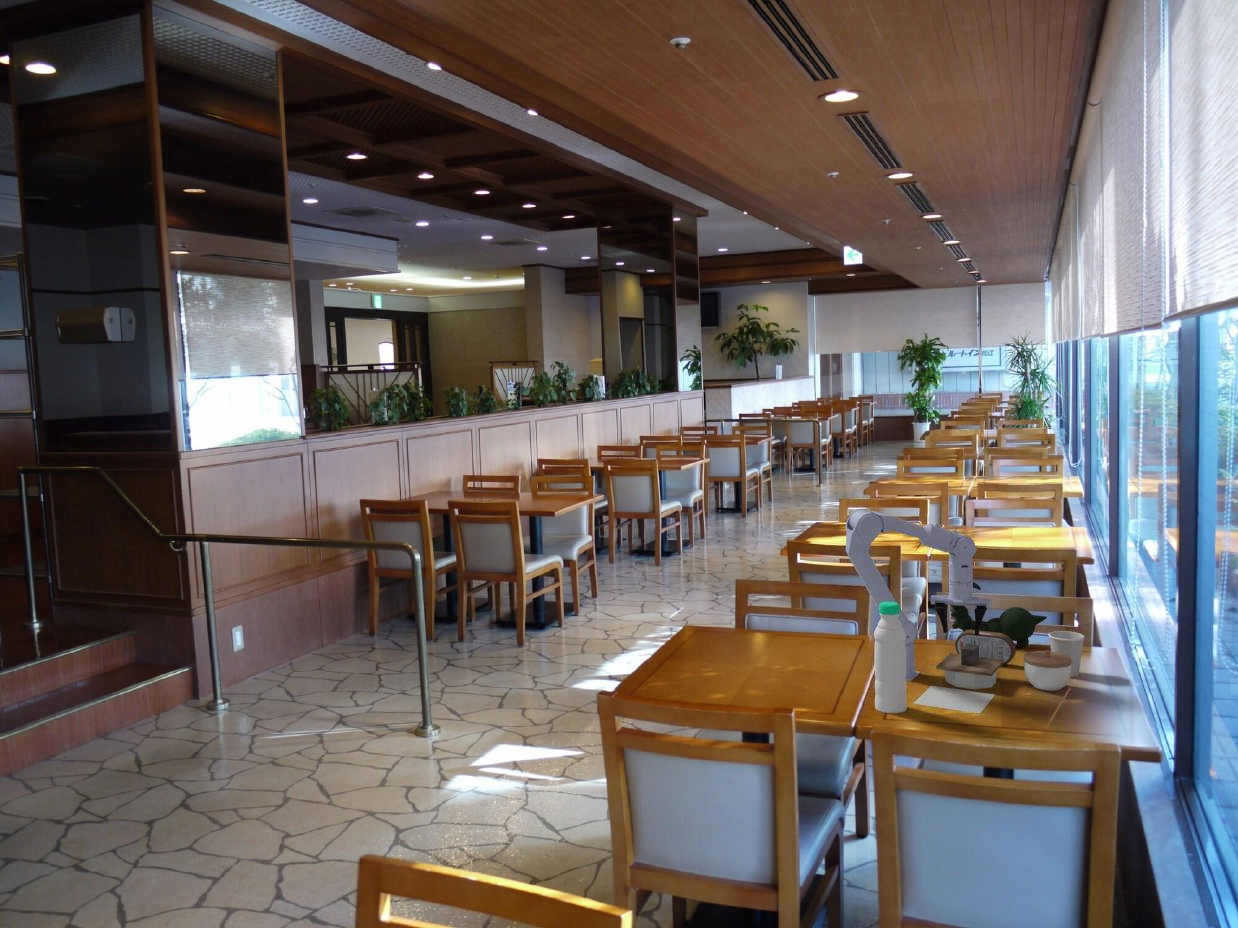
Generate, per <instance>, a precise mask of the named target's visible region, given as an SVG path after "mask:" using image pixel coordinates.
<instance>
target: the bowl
mask: <svg viewBox="0 0 1238 928" xmlns="http://www.w3.org/2000/svg"><path fill="white" fill-rule="evenodd" d="M944 671H945V682H947V683H948V684H949V685H952V686H954V687H956V688H962V689H971V690H979V689H989V688H992V687H994V685H995V684H996V683H997V671H996V672H995V673H994V674H993V675H992V676H985V675H977V674H970V673H962V672H954V671H946V670H944Z"/></svg>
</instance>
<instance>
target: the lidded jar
mask: <svg viewBox="0 0 1238 928" xmlns="http://www.w3.org/2000/svg"><path fill="white" fill-rule="evenodd" d="M1071 664H1072V659H1071V657H1069V656H1067V655H1065V654H1061V653H1057V652H1051V649H1045V650H1036V651H1029V652H1026V653H1024V654H1023V668H1024V673H1025V678H1026V680H1027V681H1028V682H1029V683H1030V684H1031V685H1032V687H1034V688H1035V689H1037V690H1042V691H1047V692H1054V691H1055V692H1056V691H1060V690H1061V689H1063V688H1064V687H1066V685H1067V684H1068V683H1069V681H1070V679H1071V677H1070V675H1071Z"/></svg>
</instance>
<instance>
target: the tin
mask: <svg viewBox="0 0 1238 928" xmlns="http://www.w3.org/2000/svg"><path fill="white" fill-rule="evenodd" d="M966 644H972V645H979V657H987V658H995V659H1004V662H1003V664H1002V665H1001V666H1005V665H1008V664H1009V663H1010V662H1011V661H1012V660H1013V659H1014V657H1015V655H1016V652H1017V649H1016V644H1015V641H1012V639H1011V638H1010V637H1008V636H1007V635H1005V634H1002V633H996V632H987V631H979V635H978V636H975V630H966V631H963V630H962V632H961V633H959V634H958V636H957V638H956V639H955V643H954V645H955V651H956V654H961V649H962V648H963V647H964V646H965V645H966Z"/></svg>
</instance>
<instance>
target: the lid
mask: <svg viewBox="0 0 1238 928" xmlns="http://www.w3.org/2000/svg"><path fill="white" fill-rule="evenodd" d="M1003 662H1004V659H995V658H987V657H979V645H972V644H966V645H965V646H964V647H963V648H962V649H961V654H958V653H952V652H950V653H949V654H948V655H946V657H944V659H942V660H941V661H940V662H939V663H938V664H937V665H936V666H935V669H936V670H940V671H945V670H946V671H954V672H962V673H970V674H977V675H985V676H992V675H993V674H994V673H995V672H996V673H997V670H998V669H999V668H1000V667H1002V666H1003V665H1002V664H1003Z"/></svg>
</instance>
